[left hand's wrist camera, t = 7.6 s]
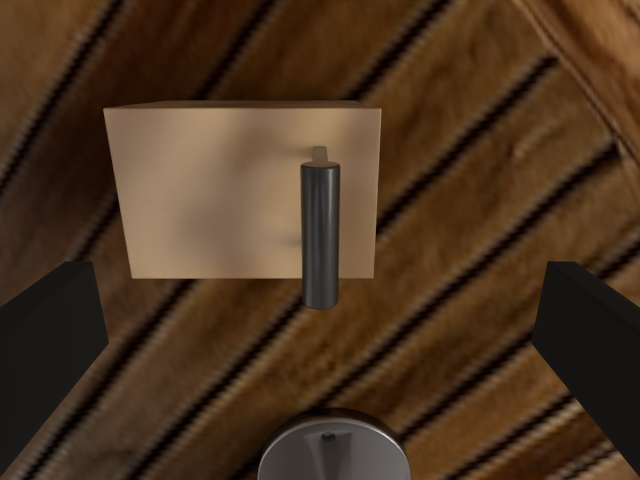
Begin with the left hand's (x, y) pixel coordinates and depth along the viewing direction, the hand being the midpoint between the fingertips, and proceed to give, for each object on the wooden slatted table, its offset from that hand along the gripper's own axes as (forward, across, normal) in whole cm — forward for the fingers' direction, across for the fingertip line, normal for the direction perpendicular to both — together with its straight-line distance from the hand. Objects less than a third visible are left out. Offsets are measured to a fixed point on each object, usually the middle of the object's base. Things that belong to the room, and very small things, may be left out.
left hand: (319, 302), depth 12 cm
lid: (+13, +4, 0) cm, 14 cm away
